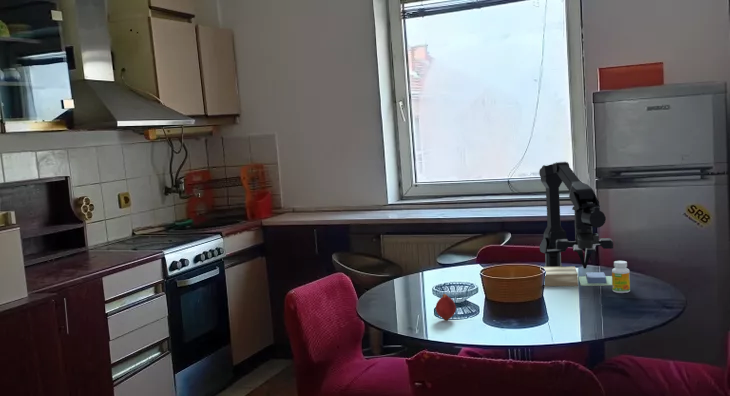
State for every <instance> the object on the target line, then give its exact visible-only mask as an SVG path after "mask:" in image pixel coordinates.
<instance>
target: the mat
mask: <svg viewBox="0 0 730 396" xmlns="http://www.w3.org/2000/svg"><path fill="white" fill-rule="evenodd" d="M605 276H606V283H588V282H587V279H586V275H585V276H580V275H579V276H578V281H579V283H580V286H582V287H588V286H589V287H593V286H594V287H595V286H597V287H599V286H602V287H603V286H604V287H607V286H610V287H612V275H605Z"/></svg>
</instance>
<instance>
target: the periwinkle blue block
mask: <svg viewBox="0 0 730 396" xmlns="http://www.w3.org/2000/svg"><path fill="white" fill-rule="evenodd" d="M585 276H586V279H587V282H588V283H606V276H607V275H606V274H605V272H602V271H601V272H595V271H593V272H592V271H591V272H585Z"/></svg>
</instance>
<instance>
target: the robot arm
mask: <svg viewBox="0 0 730 396" xmlns="http://www.w3.org/2000/svg"><path fill="white" fill-rule="evenodd" d="M538 174H539V176H540V182H541V183H542V185H543V187H544V188H545V196H546V197H545V200H546V220H547V226H546V228H545V230H544V232H543V238H542V240H541V242H540V245H539V252H541V253H543V254H545V255H544V256H545V264H544V267H563V264H562V255H561V254H562V253H564V252H565V253H566V252H567V249H568V248H570V247H571V248H572V250H573V252H576V253H577V255H578V256H579V260H580V261H581V265H582V268H583V269H584V270H585V269H586V270H587V266H588V264H589V260H590V257H591V256H592V253H593V252H596V250H597V249H596V247H601V248H602V249H604V250H605V249H609V250H610V249H614V241H613V240H612V238H610V237H606V238H605V237H603V238H599V233H593V228H596V229H597V228H598V229H599V228H601V227H603V226H604V225H605V223H606V216H605V213H604V212H603V211H602V210H601V209H600V206H601V205H600V201H599V199H598V198H597V196H596V192H595V191H594V189H593V188H592V187H591V186H590V185H588V184H587V183H584V182H582V181H581V180H580V179H579V177H578V176H577V175H576V173H575V172H574V171H573V170H572V168H571V167H570V163H569V162H567V161H557V162H553V163H551V164H544V165H542V166H541V168H539V173H538ZM562 183H563V184H564V185H565V187H566V188H567V189H568V191H569V194H568V197H569V199H570V201H571V203H572V205H573V206H572V210H573V212H574V213H573V214H574V235H575V236H574V238H575V240H574V241H571V240H570V241H569V240H568V238H567V231H566V230H564V229H563V227H562V226H561V208H560V207H561V206H560V187H561V185H562ZM583 249H585V252H584V250H583Z"/></svg>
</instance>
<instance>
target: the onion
mask: <svg viewBox="0 0 730 396" xmlns="http://www.w3.org/2000/svg"><path fill="white" fill-rule="evenodd" d="M435 311H436V314H437V315H438V316H439V317H440V318H442V319H443V320H444V321H448V320H450V319H451V318H452V317H453V316H454V315H455V314H456V311H457V306H456V303H455V302H454V300H453V299H452V297H450V296H449V295H447V294H446V293H443V294H442V297H440V299H438V301H437V302H436V304H435Z"/></svg>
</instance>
